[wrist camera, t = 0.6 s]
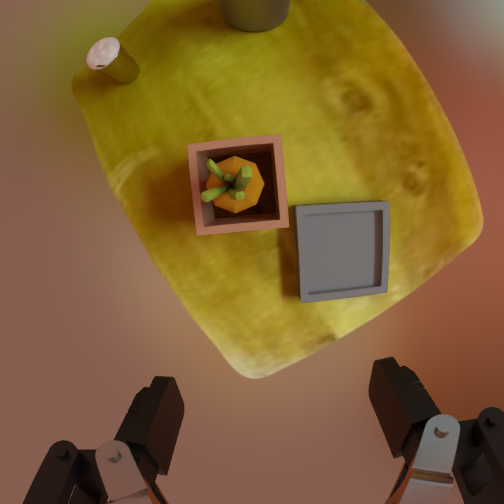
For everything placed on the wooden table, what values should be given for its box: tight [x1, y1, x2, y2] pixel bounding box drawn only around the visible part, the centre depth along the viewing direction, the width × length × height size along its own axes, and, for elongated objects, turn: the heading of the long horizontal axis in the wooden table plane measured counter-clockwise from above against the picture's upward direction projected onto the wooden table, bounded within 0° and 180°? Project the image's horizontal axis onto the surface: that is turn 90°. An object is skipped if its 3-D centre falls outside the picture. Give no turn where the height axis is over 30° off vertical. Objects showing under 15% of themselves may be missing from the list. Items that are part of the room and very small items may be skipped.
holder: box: [187, 134, 289, 236], centre depth 29 cm, size 9×9×7 cm
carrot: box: [200, 156, 264, 213], centre depth 25 cm, size 5×5×15 cm
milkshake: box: [86, 37, 140, 84], centre depth 24 cm, size 5×5×10 cm
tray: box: [294, 201, 390, 303], centre depth 33 cm, size 12×12×2 cm
